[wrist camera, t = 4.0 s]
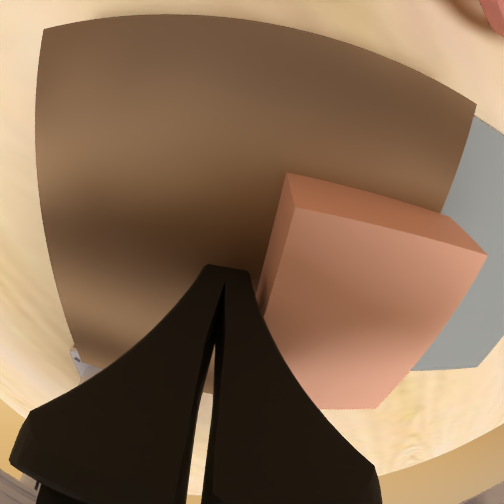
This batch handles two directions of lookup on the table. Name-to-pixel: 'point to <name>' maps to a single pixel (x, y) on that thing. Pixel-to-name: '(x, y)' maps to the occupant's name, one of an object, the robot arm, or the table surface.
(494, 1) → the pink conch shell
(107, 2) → the table surface
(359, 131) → the step
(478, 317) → the mat
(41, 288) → the table surface
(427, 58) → the table surface
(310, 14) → the table surface
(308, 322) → the tile
